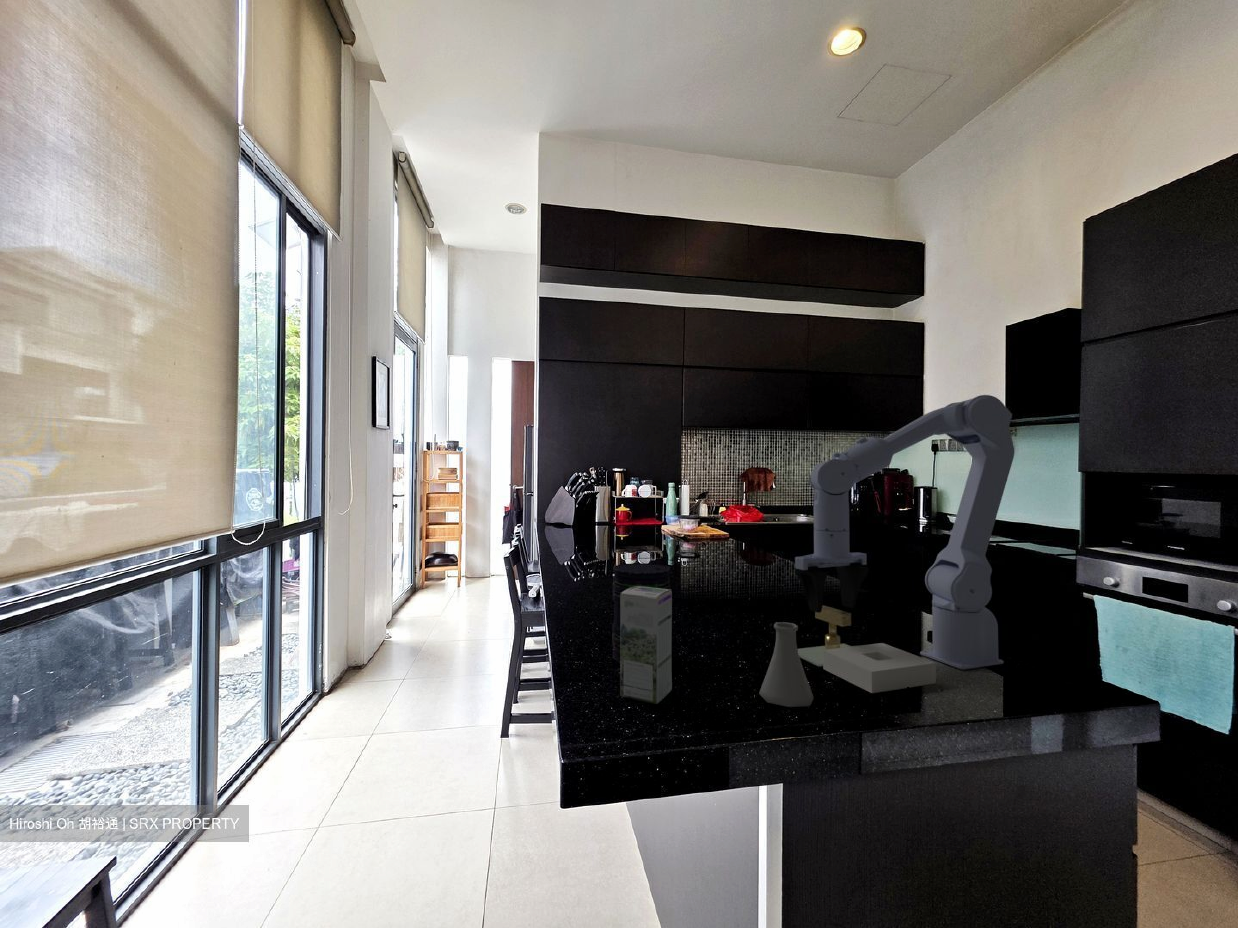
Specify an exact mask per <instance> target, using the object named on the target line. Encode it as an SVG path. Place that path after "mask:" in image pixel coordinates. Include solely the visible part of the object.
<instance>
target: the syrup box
mask: <svg viewBox="0 0 1238 928" xmlns="http://www.w3.org/2000/svg"><path fill="white" fill-rule="evenodd" d="M672 597H673V593H672V589H671V588H670V589H661V588H651V587H642V586H634V587H631V588H628V589H626V590H625V591H623V592H622V593H621V595H620V662H619V664H620V666H619V667H620V670H619V671H620V673H619V674H620V676H619V677H620V679H619V680H620V681H619V682H620V685H619V689H620V691H619V695H620V697H624V698H628V699H631V700H637V701H641V702H645V703H650V704H655V705H658V704H659V703H660V702H661V701H662V700H663V699H664V698H665V697H667V696H668V694H670V693H671V691H672V689H673V682H672V681H673V679H672V633H673V632H672V627H673V626H672V624H673V621H672V620H673V619H672V618H673V615H672V614H673V613H672V612H673V610H672V609H673V607H672V606H673V598H672Z"/></svg>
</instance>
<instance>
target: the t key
mask: <svg viewBox="0 0 1238 928" xmlns="http://www.w3.org/2000/svg"><path fill="white" fill-rule="evenodd" d="M814 618H815V619H816V620H817V619H818V620H821V621H823V622H827V623H828V633H826V634H825V635H824V644H825V645H824V646H825V650H827V649H835V648H840V644H841V636H840V635H838V634H837V626H838V627H839V626H840V627H849V626H852V613H851V612H848V611H844V610H841V609H837V608H835V607H830V606H827V605H824V604H822V611H821V612H819V613H817V612H814Z"/></svg>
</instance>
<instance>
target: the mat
mask: <svg viewBox="0 0 1238 928" xmlns="http://www.w3.org/2000/svg"><path fill="white" fill-rule="evenodd" d="M844 647H852V646H851V645H850V644H849V645H848V644H847V643H840V648H844ZM797 649H798V654H799V657H800V659H802V660H805V661H807V662H809V664H813V665H815V666H817V667H823V650H825V645H821V646H811V647H810V646H809V647H803V648H797Z"/></svg>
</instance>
